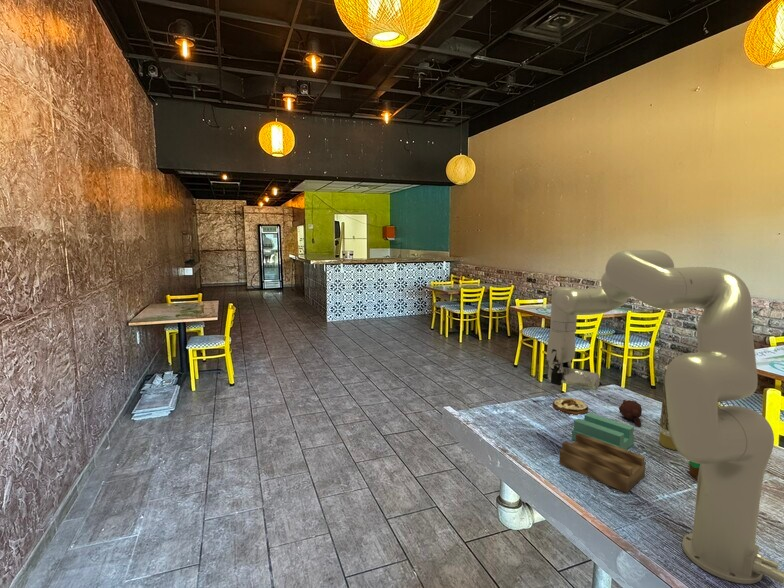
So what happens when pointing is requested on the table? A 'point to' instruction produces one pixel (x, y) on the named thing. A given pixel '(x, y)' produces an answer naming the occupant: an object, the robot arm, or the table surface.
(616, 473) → the wooden channel block
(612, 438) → the v block
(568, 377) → the axle
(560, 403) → the tan round flat disc
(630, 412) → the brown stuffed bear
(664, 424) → the bark patterned canister
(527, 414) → the table surface
